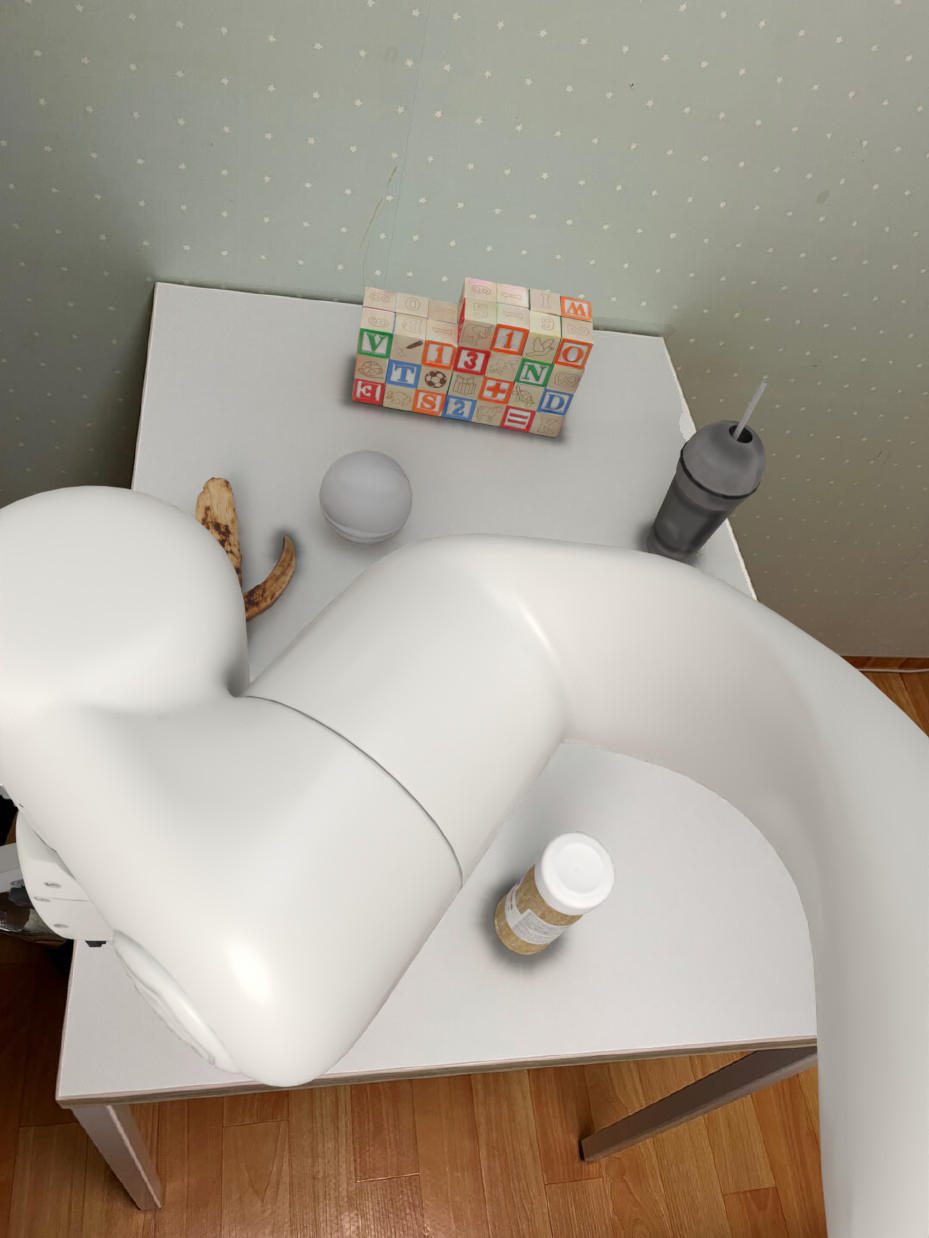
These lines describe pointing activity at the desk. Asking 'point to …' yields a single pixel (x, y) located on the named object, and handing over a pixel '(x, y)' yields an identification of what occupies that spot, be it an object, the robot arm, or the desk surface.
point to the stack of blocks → (475, 354)
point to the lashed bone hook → (223, 524)
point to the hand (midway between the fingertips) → (191, 913)
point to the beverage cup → (708, 485)
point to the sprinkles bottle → (555, 892)
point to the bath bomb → (365, 497)
